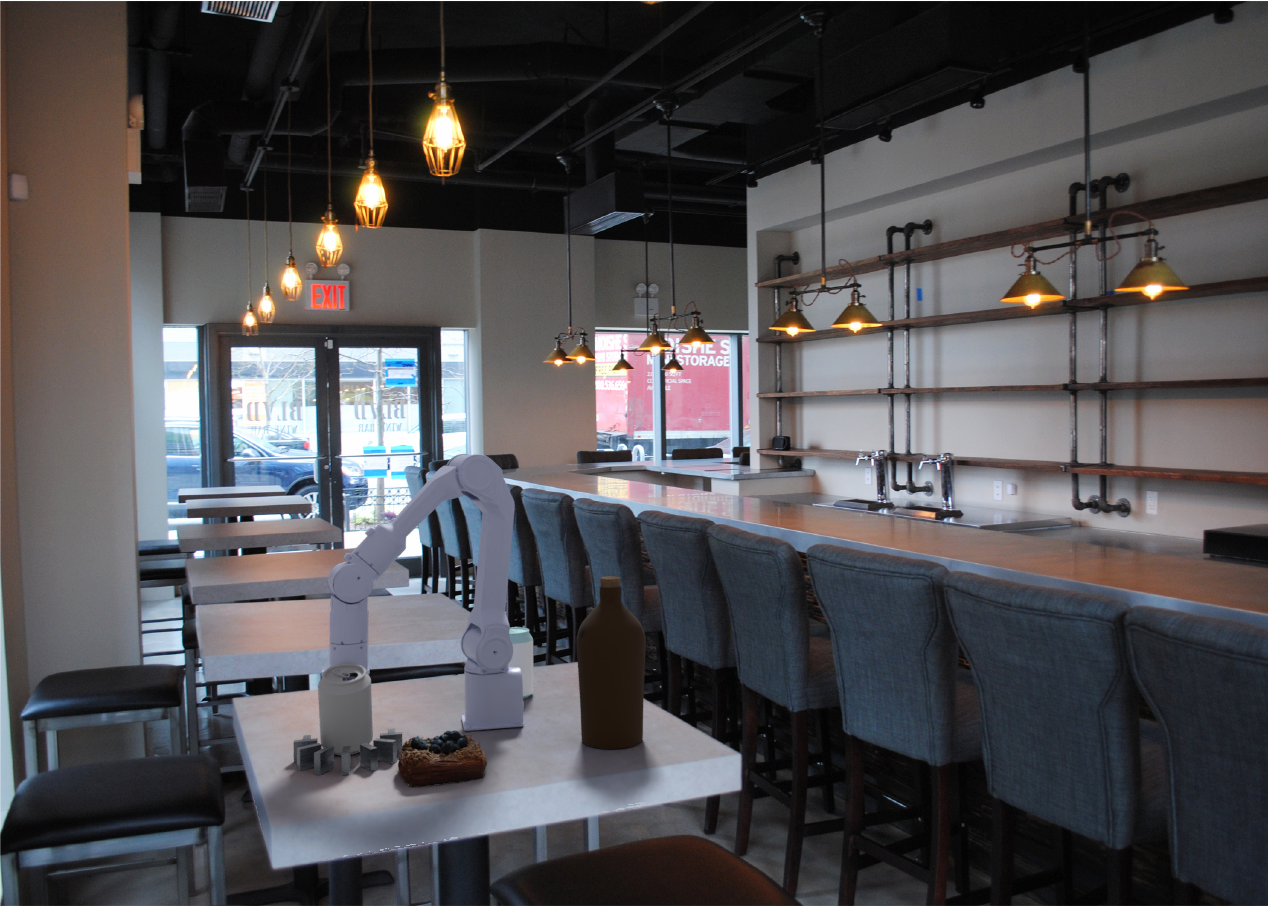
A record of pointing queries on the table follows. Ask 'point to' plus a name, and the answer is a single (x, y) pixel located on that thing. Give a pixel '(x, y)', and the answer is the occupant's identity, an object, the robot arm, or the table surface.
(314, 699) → the table surface
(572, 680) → the table surface
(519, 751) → the table surface
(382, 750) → the ring collar
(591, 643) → the olive oil
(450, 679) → the table surface
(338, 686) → the can
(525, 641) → the can
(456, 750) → the pastry
